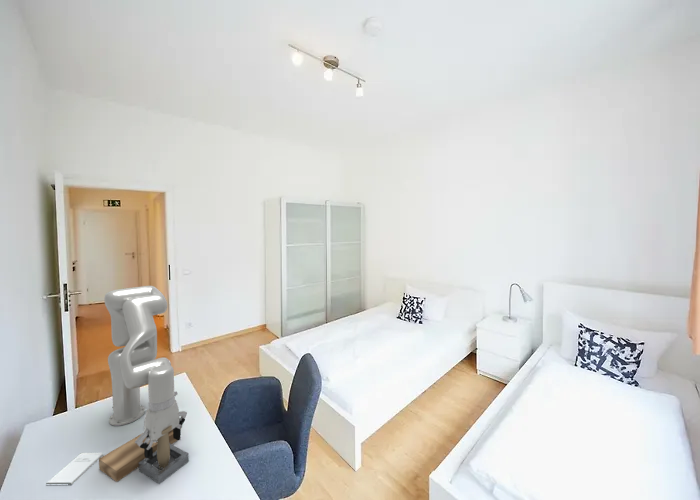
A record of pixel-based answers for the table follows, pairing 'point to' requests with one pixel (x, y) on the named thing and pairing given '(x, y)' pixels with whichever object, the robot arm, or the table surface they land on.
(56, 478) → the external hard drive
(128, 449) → the wooden box
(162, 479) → the collar
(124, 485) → the table surface
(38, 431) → the table surface
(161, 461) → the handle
